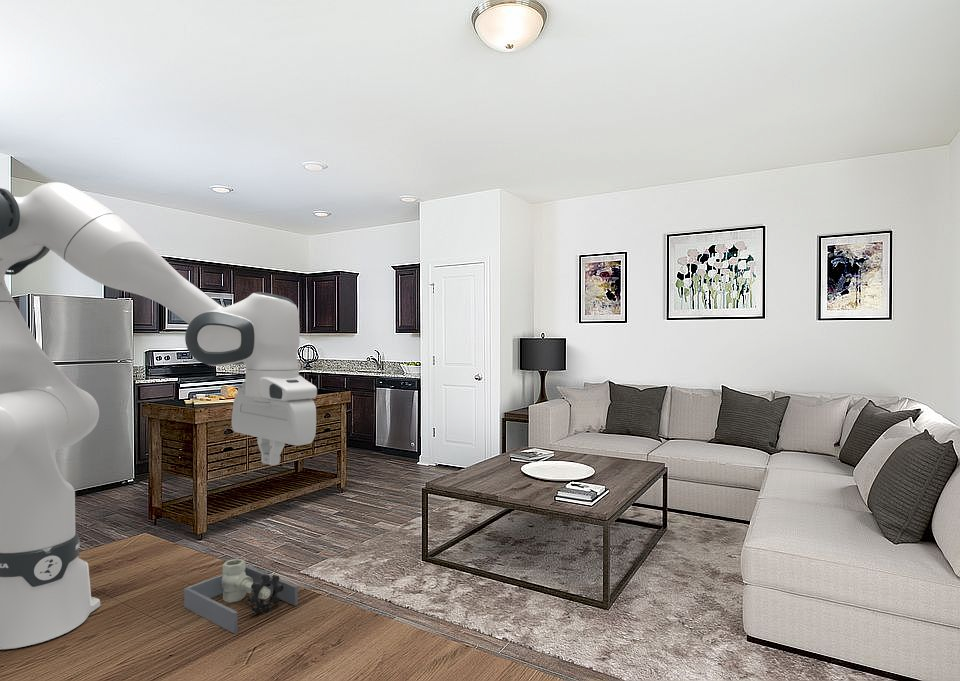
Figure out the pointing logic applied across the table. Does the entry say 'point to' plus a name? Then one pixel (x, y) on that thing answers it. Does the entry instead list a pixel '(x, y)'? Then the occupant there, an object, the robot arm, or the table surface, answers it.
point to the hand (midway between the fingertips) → (270, 463)
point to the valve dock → (223, 615)
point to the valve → (248, 586)
